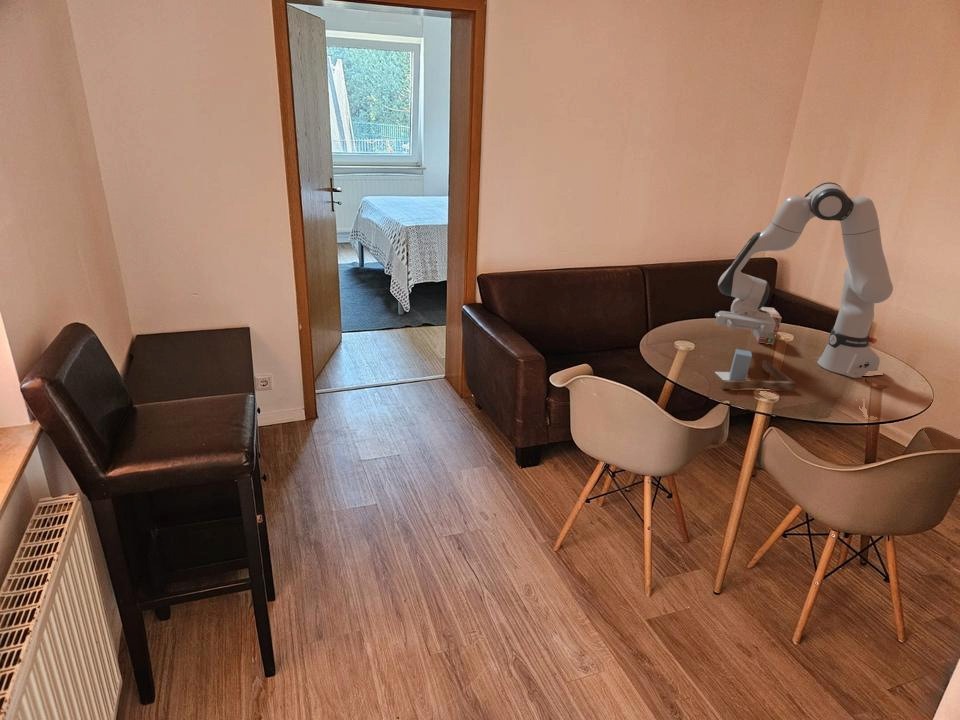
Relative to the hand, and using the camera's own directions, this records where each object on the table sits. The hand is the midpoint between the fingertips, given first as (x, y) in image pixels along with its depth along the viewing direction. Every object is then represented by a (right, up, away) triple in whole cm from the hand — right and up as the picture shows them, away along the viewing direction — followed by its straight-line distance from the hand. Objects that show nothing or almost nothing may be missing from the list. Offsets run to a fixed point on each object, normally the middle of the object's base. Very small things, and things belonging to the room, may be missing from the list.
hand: (745, 328), depth 216 cm
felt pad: (-5, -18, -5) cm, 20 cm away
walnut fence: (-2, -18, -3) cm, 18 cm away
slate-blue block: (-5, -18, -5) cm, 19 cm away
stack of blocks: (+23, -1, +39) cm, 45 cm away
